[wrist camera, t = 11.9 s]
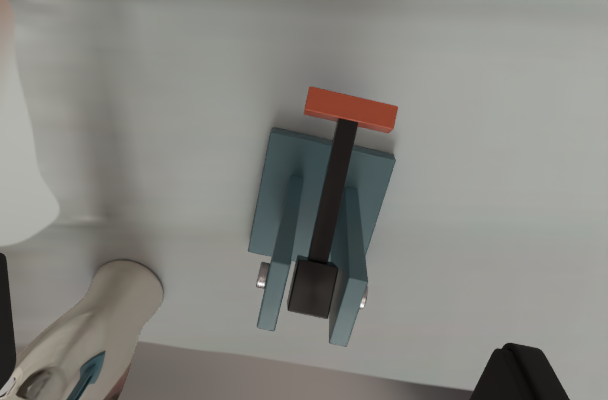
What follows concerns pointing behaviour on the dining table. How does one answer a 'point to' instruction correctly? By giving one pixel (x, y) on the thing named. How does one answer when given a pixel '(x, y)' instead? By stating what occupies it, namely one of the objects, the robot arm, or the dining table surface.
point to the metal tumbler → (89, 340)
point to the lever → (332, 194)
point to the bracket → (301, 219)
